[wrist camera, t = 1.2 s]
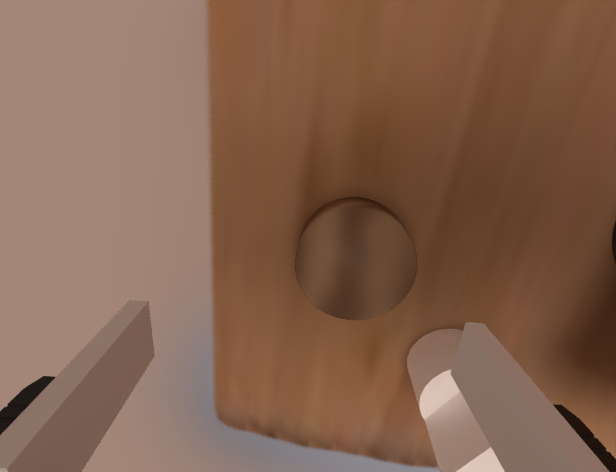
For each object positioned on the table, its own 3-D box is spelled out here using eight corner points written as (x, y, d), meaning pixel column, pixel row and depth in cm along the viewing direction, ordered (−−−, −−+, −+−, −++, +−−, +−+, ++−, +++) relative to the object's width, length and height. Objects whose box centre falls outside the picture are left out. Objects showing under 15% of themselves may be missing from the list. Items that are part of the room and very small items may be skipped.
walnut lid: (419, 210, 32) (434, 224, 28) (388, 304, 36) (396, 331, 31) (312, 186, 32) (308, 196, 28) (291, 282, 36) (285, 305, 31)
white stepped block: (446, 314, 36) (498, 401, 24) (504, 358, 37) (579, 462, 25) (390, 364, 38) (413, 464, 27) (446, 404, 39) (491, 516, 28)
